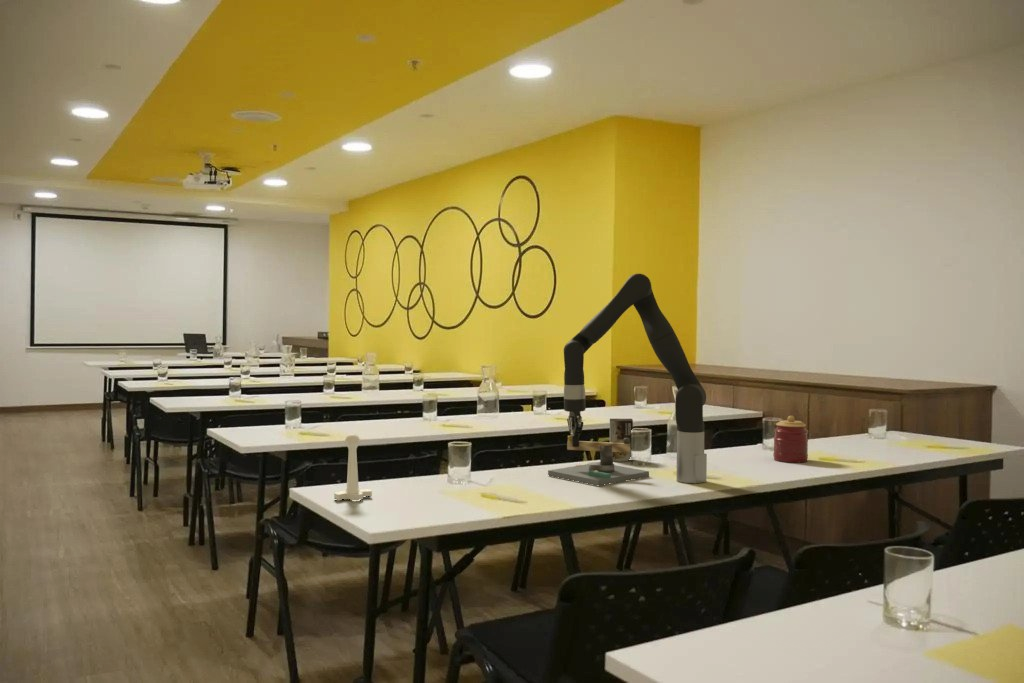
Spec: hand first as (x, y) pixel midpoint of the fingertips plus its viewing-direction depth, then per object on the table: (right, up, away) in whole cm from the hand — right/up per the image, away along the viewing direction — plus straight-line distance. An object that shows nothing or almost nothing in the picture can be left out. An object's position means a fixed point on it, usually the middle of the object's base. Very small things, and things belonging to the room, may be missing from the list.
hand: (575, 446), depth 300 cm
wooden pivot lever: (+8, -8, +1) cm, 12 cm away
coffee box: (+20, -10, +34) cm, 41 cm away
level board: (+8, -11, 0) cm, 13 cm away
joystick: (-71, -12, -39) cm, 82 cm away
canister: (+87, -10, +35) cm, 95 cm away
